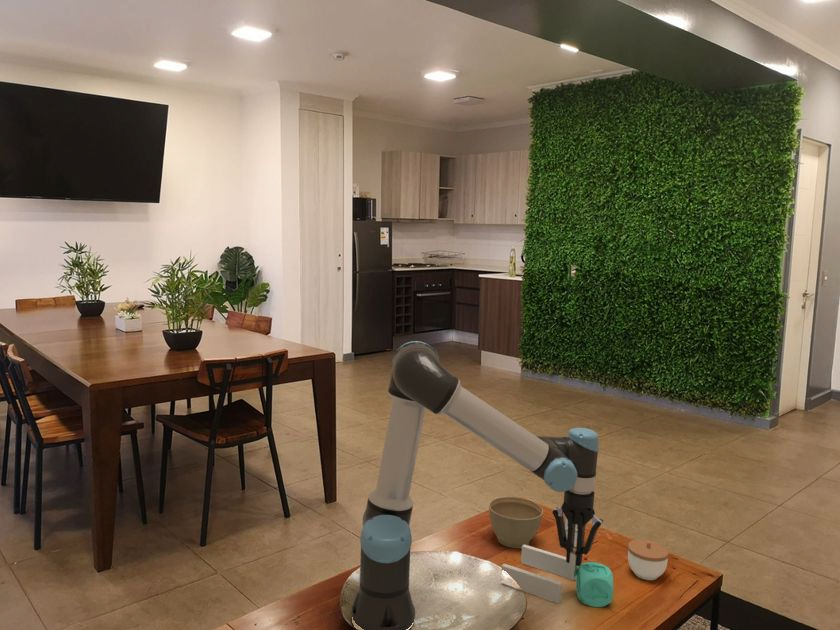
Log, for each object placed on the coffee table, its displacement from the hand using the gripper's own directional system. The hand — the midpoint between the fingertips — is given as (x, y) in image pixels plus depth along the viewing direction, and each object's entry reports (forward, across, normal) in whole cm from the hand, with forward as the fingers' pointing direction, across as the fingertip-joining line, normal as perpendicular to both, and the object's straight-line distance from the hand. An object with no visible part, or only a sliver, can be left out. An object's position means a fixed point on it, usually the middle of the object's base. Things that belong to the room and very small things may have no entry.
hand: (572, 575), depth 170 cm
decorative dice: (+5, -6, 0) cm, 7 cm away
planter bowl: (+5, +24, -17) cm, 30 cm away
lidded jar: (+5, -14, -21) cm, 26 cm away
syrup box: (+5, +9, -27) cm, 29 cm away
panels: (+4, +9, 0) cm, 10 cm away
